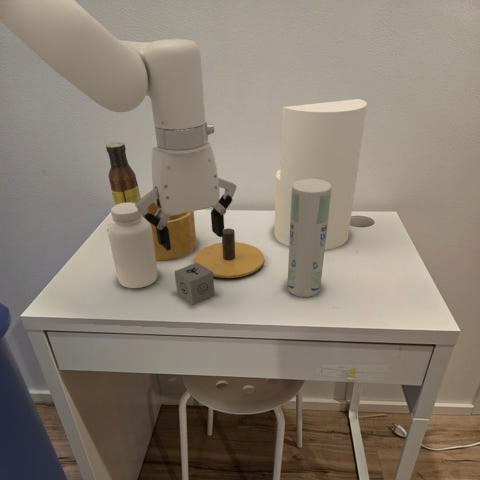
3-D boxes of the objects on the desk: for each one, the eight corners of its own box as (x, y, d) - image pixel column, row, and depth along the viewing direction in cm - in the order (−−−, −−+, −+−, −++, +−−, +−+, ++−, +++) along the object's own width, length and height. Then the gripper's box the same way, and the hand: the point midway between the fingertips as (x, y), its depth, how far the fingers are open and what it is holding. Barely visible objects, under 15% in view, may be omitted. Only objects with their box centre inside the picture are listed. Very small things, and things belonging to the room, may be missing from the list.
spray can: (319, 299, 80) (330, 193, 68) (284, 295, 82) (289, 190, 70) (322, 281, 85) (333, 179, 73) (289, 277, 87) (294, 177, 75)
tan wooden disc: (212, 287, 84) (210, 254, 80) (184, 256, 95) (181, 225, 90) (276, 269, 89) (278, 237, 85) (243, 241, 100) (243, 211, 96)
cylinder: (363, 241, 99) (385, 106, 82) (295, 256, 93) (305, 115, 77) (323, 214, 111) (335, 92, 95) (262, 226, 106) (263, 99, 90)
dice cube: (198, 284, 85) (196, 262, 82) (214, 295, 82) (212, 272, 79) (177, 294, 83) (174, 271, 80) (192, 305, 79) (190, 281, 76)
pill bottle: (137, 294, 83) (123, 220, 74) (109, 281, 87) (93, 209, 78) (166, 276, 88) (157, 205, 79) (139, 265, 92) (127, 196, 83)
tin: (146, 266, 91) (140, 228, 86) (128, 240, 101) (122, 205, 96) (205, 251, 96) (203, 214, 91) (183, 228, 106) (179, 194, 101)
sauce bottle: (147, 222, 109) (134, 139, 98) (144, 233, 104) (130, 147, 93) (121, 223, 109) (104, 140, 97) (117, 234, 104) (99, 148, 92)
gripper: (222, 124, 71) (227, 222, 81) (118, 140, 65) (138, 244, 75) (243, 133, 66) (246, 237, 76) (132, 152, 60) (151, 262, 70)
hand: (192, 240), depth 76 cm, fingers open, 9 cm apart
